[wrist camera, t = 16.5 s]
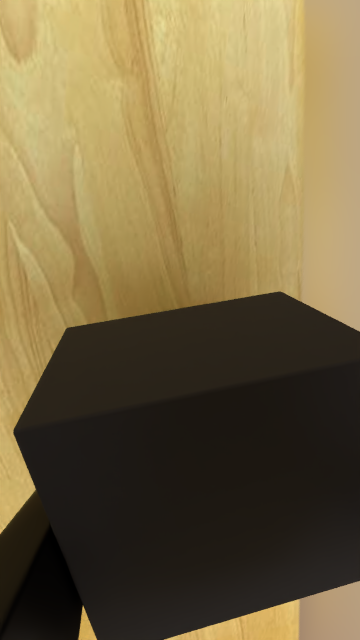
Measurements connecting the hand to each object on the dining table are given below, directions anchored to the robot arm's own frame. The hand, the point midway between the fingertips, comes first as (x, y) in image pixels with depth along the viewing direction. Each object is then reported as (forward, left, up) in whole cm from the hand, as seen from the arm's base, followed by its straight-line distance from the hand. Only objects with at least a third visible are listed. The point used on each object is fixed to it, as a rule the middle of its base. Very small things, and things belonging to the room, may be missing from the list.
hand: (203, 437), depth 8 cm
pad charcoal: (0, 0, -2) cm, 2 cm away
